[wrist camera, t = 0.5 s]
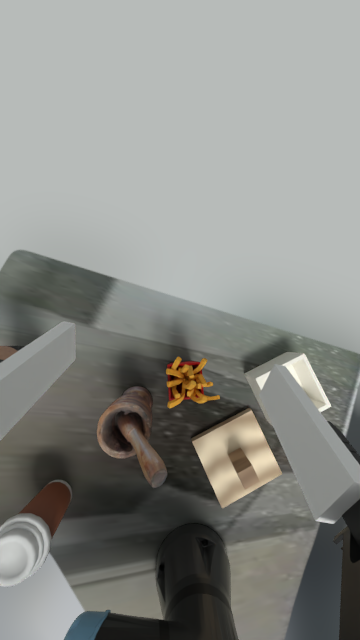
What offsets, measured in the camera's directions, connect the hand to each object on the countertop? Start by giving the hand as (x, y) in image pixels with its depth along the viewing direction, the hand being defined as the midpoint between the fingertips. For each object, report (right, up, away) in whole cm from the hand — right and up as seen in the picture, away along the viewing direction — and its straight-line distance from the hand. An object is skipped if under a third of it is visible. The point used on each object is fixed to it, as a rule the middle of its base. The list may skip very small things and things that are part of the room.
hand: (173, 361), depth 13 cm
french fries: (+2, -9, +32) cm, 33 cm away
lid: (+13, -28, +31) cm, 44 cm away
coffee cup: (-26, -35, +28) cm, 51 cm away
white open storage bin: (+24, -13, +33) cm, 43 cm away
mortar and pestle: (-8, -16, +31) cm, 36 cm away
